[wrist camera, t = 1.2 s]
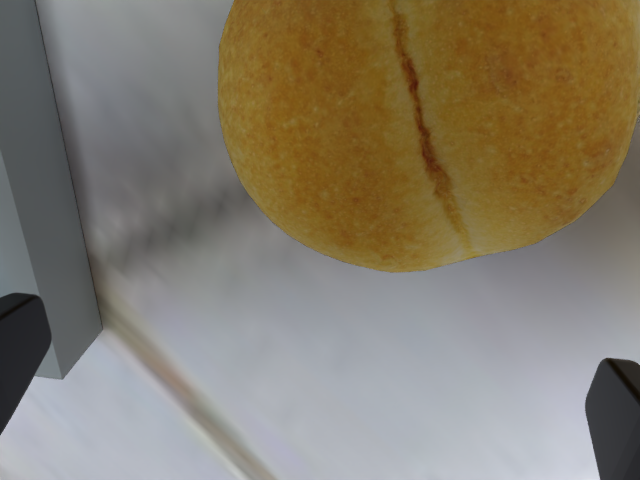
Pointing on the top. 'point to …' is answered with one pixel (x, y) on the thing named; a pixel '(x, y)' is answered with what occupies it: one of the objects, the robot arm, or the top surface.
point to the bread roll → (427, 120)
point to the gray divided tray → (40, 196)
